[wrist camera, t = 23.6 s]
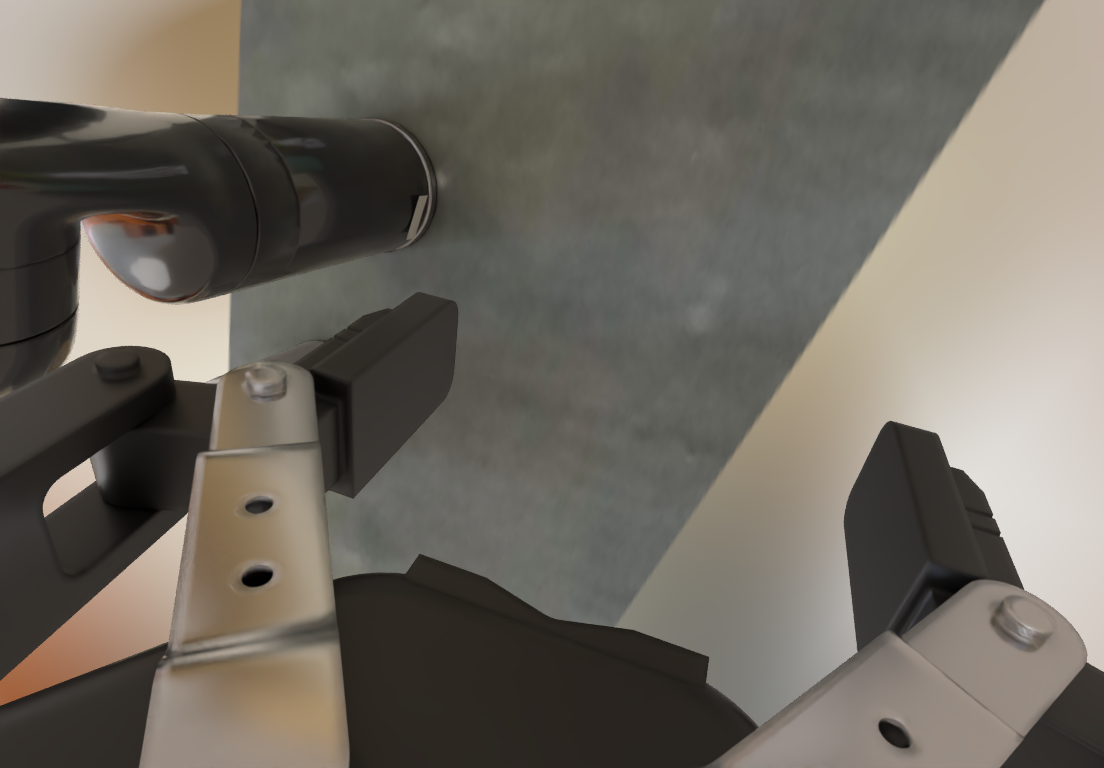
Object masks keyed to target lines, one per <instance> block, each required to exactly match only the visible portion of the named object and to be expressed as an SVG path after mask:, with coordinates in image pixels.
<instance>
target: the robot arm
mask: <svg viewBox="0 0 1104 768" xmlns="http://www.w3.org/2000/svg"><path fill="white" fill-rule="evenodd" d="M435 205H436V182H435V176H434V172H433V168H432V165H431V163H430V160H429V158H428V156H427V154H426V152H425V151H424V149H423V147H422V146H421V145H420V143H419V142H418V141H417V140H416V138H415V137H414V136H413V135H412V134H411V133H410V132H408V131H407V130H406V129H404V128H403V127H401V126H400V125H398V124H396V123H394V122H391V121H388V120H384V119H372V118H365V119H359V120H358V119H336V118H306V117H276V116H245V115H207V114H179V113H167V112H166V113H165V112H146V111H137V110H128V109H122V108H114V107H106V106H99V105H89V104H79V103H65V102H47V101H46V102H45V101H29V100H18V99H7V98H0V680H2V679H3V678H4V677H5V676H6V675H7V674H8V673H9V672H10V671H11V670H12V669H14V668H15V667H16V666H17V665H18V664H19V663H20V662H22V661H23V660H24V659H25V658H26V657H27V656H28V655H29V654H31V653H32V652H33V651H34V650H35V649H36V648H37V647H38V646H40V645H41V644H42V643H43V642H44V641H45V640H46V639H47V638H48V637H50V636H51V635H52V634H53V633H54V632H55V631H56V630H57V629H59V628H60V627H61V626H62V625H63V624H64V623H65V622H66V621H67V620H68V619H70V618H71V617H72V616H73V615H74V614H75V613H76V612H78V611H79V610H80V609H81V608H82V607H83V606H84V605H85V604H87V603H88V602H89V601H90V600H91V599H92V598H93V597H94V596H95V595H97V594H98V593H99V592H100V591H101V590H102V589H103V588H104V587H106V586H107V585H108V584H109V583H110V582H111V581H112V580H113V579H114V578H116V577H117V576H118V575H119V574H120V573H121V572H122V571H123V570H125V569H126V568H127V567H128V566H129V565H130V564H131V563H132V562H133V561H134V560H136V559H137V558H138V557H139V556H140V555H141V554H142V553H144V552H145V551H146V550H147V549H148V548H149V547H150V546H151V545H153V544H154V543H155V542H156V541H157V540H158V539H159V538H160V537H161V536H163V535H164V534H165V533H166V532H167V531H168V530H169V529H170V528H172V527H173V526H174V525H175V524H176V523H177V522H178V521H179V520H180V519H182V518H183V517H184V516H185V515H186V514H187V513H188V517H187V524H186V531H185V537H184V544H183V550H182V558H181V564H180V570H179V577H178V584H177V590H176V597H175V604H174V610H173V617H172V623H171V630H170V637H169V642H167V643H164V644H161V645H159V646H156V647H153V648H151V649H148V650H145V651H143V652H140V653H138V654H135V655H132V656H130V657H127V658H125V659H122V660H119V661H117V662H114V663H112V664H109V665H106V666H104V667H101V668H98V669H96V670H93V671H91V672H88V673H85V674H83V675H80V676H77V677H75V678H72V679H70V680H67V681H64V682H62V683H59V684H56V685H54V686H51V687H49V688H46V689H43V690H41V691H38V692H35V693H33V694H30V695H28V696H25V697H22V698H20V699H17V700H15V701H12V702H9V703H7V704H4V705H1V706H0V768H1104V672H1103V671H1101V670H1099V669H1097V668H1095V667H1094V666H1092V665H1090V664H1089V663H1087V662H1086V661H1087V651H1086V647H1085V645H1084V642H1083V640H1082V639H1081V637H1080V635H1079V634H1078V632H1077V631H1076V630H1075V628H1074V627H1073V626H1072V625H1071V624H1070V623H1069V622H1068V621H1067V620H1066V619H1065V618H1064V617H1063V616H1062V615H1061V614H1060V613H1059V612H1058V611H1056V610H1055V609H1054V608H1053V607H1051V606H1050V605H1049V604H1047V603H1046V602H1044V601H1043V600H1041V599H1039V598H1038V597H1036V596H1035V595H1033V594H1031V593H1029V592H1027V591H1025V590H1024V588H1023V585H1022V583H1021V581H1020V578H1019V576H1018V574H1017V571H1016V569H1015V566H1014V564H1013V561H1012V559H1011V557H1010V554H1009V552H1008V549H1007V547H1006V545H1005V542H1004V540H1003V538H1002V537H1000V533H1001V532H1000V530H999V528H998V526H997V523H996V520H995V519H993V518H992V516H993V513H992V511H991V509H990V506H989V504H988V501H987V499H986V496H985V494H984V492H983V491H982V490H981V489H980V488H979V487H978V486H977V485H976V484H975V483H974V482H973V481H972V480H971V479H970V478H969V476H968V475H967V474H966V473H965V472H964V471H963V470H959V469H956V468H953V467H950V465H949V463H948V460H947V457H946V454H945V452H944V449H943V446H942V443H941V441H940V438H939V436H938V435H937V434H936V433H933V432H930V431H926V430H922V429H919V428H915V427H911V426H908V425H904V424H900V423H897V422H893V421H889V422H887V423H886V424H885V425H884V427H883V428H882V429H881V431H880V433H879V435H878V437H877V439H876V441H875V443H874V445H873V447H872V449H871V451H870V453H869V455H868V457H867V459H866V461H865V464H864V466H863V468H862V470H861V472H860V474H859V476H858V478H857V480H856V482H855V484H854V486H853V488H852V490H851V493H850V495H849V498H848V501H847V505H846V509H845V515H844V530H845V539H846V548H847V558H848V566H849V576H850V586H851V595H852V604H853V613H854V623H855V631H856V641H857V650H858V652H857V653H856V654H855V655H853V656H852V657H851V658H849V659H848V660H847V661H846V662H844V663H843V664H842V665H840V666H839V667H838V668H836V669H835V670H834V671H832V672H831V673H830V674H828V675H827V676H826V677H824V678H823V679H822V680H821V681H820V682H818V683H817V684H815V685H814V686H813V687H811V688H810V689H809V690H808V691H806V692H805V693H803V694H802V695H801V696H799V697H798V698H797V699H796V700H794V701H793V702H792V703H790V704H789V705H788V706H786V707H785V708H784V709H782V710H781V711H780V712H778V713H777V714H776V715H775V716H773V717H772V718H771V719H769V720H768V721H767V722H765V723H764V724H763V725H762V726H760V727H758V726H757V724H756V723H755V722H754V721H753V720H752V719H751V718H750V717H749V716H748V715H747V714H746V713H745V712H743V710H741V709H740V708H739V707H738V706H737V705H736V704H735V703H733V702H732V701H731V700H730V699H728V698H727V697H726V696H724V695H723V694H722V693H720V692H719V691H718V690H716V689H715V688H713V687H712V686H710V685H709V684H707V683H706V677H707V670H708V662H709V657H708V656H705V655H702V654H699V653H696V652H694V651H691V650H688V649H685V648H682V647H680V646H677V645H674V644H671V643H668V642H666V641H663V640H660V639H657V638H654V637H652V636H649V635H646V634H643V633H640V632H637V631H635V630H630V629H622V628H615V627H608V626H600V625H593V624H586V623H578V622H571V621H563V620H557V619H554V618H551V617H548V616H547V615H545V614H543V613H541V612H540V611H538V610H537V609H535V608H534V607H532V606H530V605H529V604H527V603H526V602H524V601H522V600H521V599H519V598H518V597H516V596H514V595H513V594H511V593H510V592H508V591H507V590H505V589H503V588H502V587H500V586H499V585H497V584H495V583H494V582H492V581H491V580H489V579H488V578H486V577H483V576H480V575H477V574H475V573H472V572H469V571H466V570H463V569H461V568H458V567H455V566H452V565H449V564H447V563H444V562H441V561H438V560H435V559H433V558H430V557H427V556H424V555H421V554H419V556H418V557H417V558H416V560H415V561H414V563H413V564H412V566H411V567H410V568H409V570H408V571H407V573H406V574H401V573H367V574H358V575H352V576H346V577H342V578H338V579H335V580H333V575H332V564H331V553H330V542H329V531H328V520H327V509H326V498H325V493H326V492H327V491H328V490H330V491H333V492H336V493H339V494H342V495H345V496H348V497H350V498H354V497H355V496H356V495H357V494H358V493H359V492H360V491H361V490H362V489H363V487H364V486H365V485H366V484H367V483H368V482H369V481H370V480H371V479H372V478H373V477H374V476H375V474H376V473H377V472H378V471H379V470H380V469H381V468H382V467H383V466H384V465H385V464H386V463H387V461H388V460H389V459H390V458H391V457H392V456H393V455H394V454H395V453H396V452H397V451H398V450H399V448H400V447H401V446H402V445H403V444H404V443H405V442H406V441H407V440H408V439H409V438H410V437H411V435H412V434H413V433H414V432H415V431H416V430H417V429H418V428H419V427H420V426H421V425H422V424H423V422H424V421H425V420H426V419H427V418H428V417H429V416H430V415H431V414H432V413H433V412H434V411H435V409H436V408H437V407H438V406H439V405H440V404H441V403H442V402H443V401H444V399H445V398H446V396H447V394H448V392H449V389H450V387H451V383H452V380H453V375H454V365H455V351H456V338H457V325H458V307H457V304H456V302H454V301H451V300H447V299H444V298H440V297H436V296H433V295H429V294H425V293H422V292H417V293H415V294H414V295H412V296H411V297H410V298H408V299H407V300H405V301H404V302H403V303H401V304H400V305H398V306H397V307H396V308H394V309H393V310H392V309H388V308H387V309H384V310H381V311H377V312H374V313H371V314H367V315H364V316H363V317H361V318H360V319H358V320H357V321H355V322H354V323H352V324H351V325H349V326H348V328H347V329H343V330H342V331H340V332H339V333H338V334H336V335H335V336H334V339H333V338H330V339H329V340H327V341H326V342H324V343H323V344H321V345H320V346H318V347H317V348H316V349H314V350H313V351H311V352H310V353H308V354H307V355H305V356H304V357H302V358H301V359H299V360H298V361H296V362H295V363H293V364H291V363H286V362H279V361H263V362H255V363H250V364H246V365H242V366H240V367H237V368H235V369H233V370H231V371H229V372H228V373H226V374H225V375H224V376H223V377H221V379H220V380H219V382H218V384H211V383H201V382H190V381H180V380H174V377H173V371H172V366H171V361H170V359H169V357H168V356H167V355H166V354H165V353H163V352H161V351H159V350H156V349H153V348H148V347H141V346H120V347H112V348H106V349H102V350H98V351H94V352H92V353H88V354H86V355H84V356H82V357H80V358H77V359H76V360H74V361H72V362H70V363H68V364H66V365H64V364H65V363H66V361H67V360H68V358H69V356H70V354H71V352H72V349H73V346H74V343H75V337H76V331H77V324H78V312H79V282H80V280H79V279H80V238H81V237H80V236H81V235H80V227H82V230H83V232H84V233H85V235H86V237H87V239H88V241H89V243H90V245H91V246H92V248H93V250H94V251H95V253H96V254H97V256H98V257H99V258H100V260H101V261H102V262H103V263H104V265H105V266H106V267H107V268H108V270H109V271H110V272H111V273H112V274H113V275H114V276H115V277H116V278H117V279H118V280H119V281H121V282H122V283H123V284H124V285H125V286H127V287H128V288H129V289H131V290H132V291H134V292H136V293H138V294H139V295H141V296H143V297H145V298H147V299H150V300H152V301H155V302H159V303H164V304H175V305H179V304H189V303H194V302H198V301H202V300H206V299H210V298H214V297H217V296H220V295H225V294H229V293H233V292H237V291H240V290H244V289H248V288H252V287H255V286H259V285H263V284H266V283H270V282H273V281H277V280H281V279H285V278H288V277H292V276H296V275H300V274H304V273H307V272H311V271H315V270H319V269H322V268H326V267H330V266H334V265H338V264H341V263H345V262H349V261H353V260H356V259H360V258H364V257H368V256H372V255H376V254H379V253H383V252H392V251H396V250H400V249H403V248H406V247H408V246H410V245H412V244H413V243H414V242H416V241H417V240H418V239H419V238H420V237H421V236H422V235H423V234H424V233H425V231H426V230H427V228H428V226H429V224H430V222H431V220H432V217H433V214H434V210H435ZM63 365H64V366H63ZM88 458H90V461H91V464H92V468H93V471H94V474H95V479H96V481H95V482H94V483H92V484H91V485H89V486H88V487H87V488H85V489H84V490H83V491H81V492H80V493H78V494H77V495H76V496H74V497H73V498H71V499H70V500H68V501H67V502H66V503H64V504H63V505H61V506H60V507H59V508H57V509H56V510H55V511H53V512H52V513H51V514H49V515H48V516H46V517H45V518H44V515H43V502H44V498H45V496H46V494H47V492H48V490H49V489H50V487H51V486H52V485H53V484H54V483H55V482H56V481H57V480H58V479H59V478H60V477H62V476H63V475H64V474H66V473H68V472H69V471H71V470H72V469H74V468H75V467H76V466H78V465H79V464H81V463H82V462H84V461H86V460H87V459H88Z"/></svg>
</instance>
